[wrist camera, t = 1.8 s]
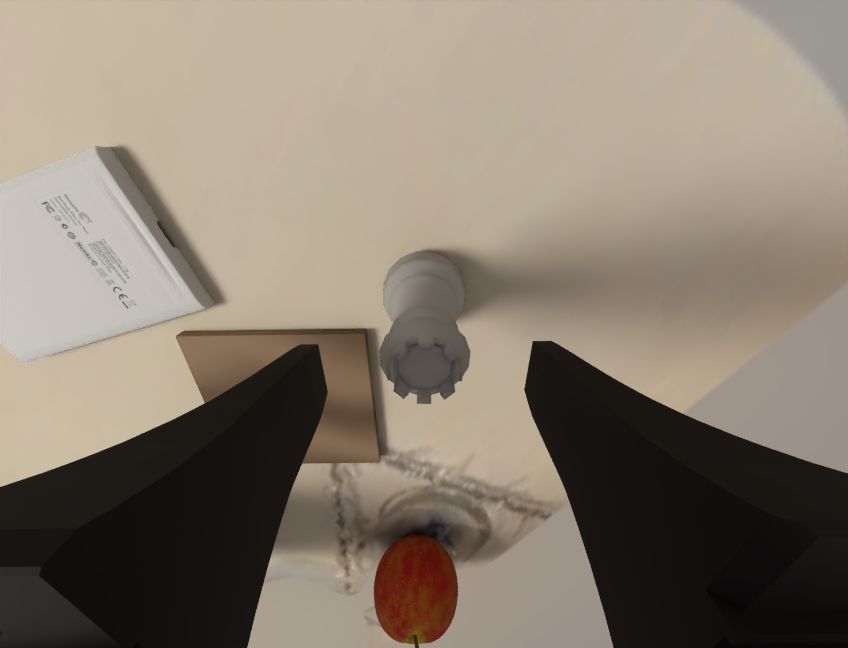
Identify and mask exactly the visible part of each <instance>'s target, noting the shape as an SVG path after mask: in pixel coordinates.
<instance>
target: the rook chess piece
mask: <svg viewBox="0 0 848 648" xmlns="http://www.w3.org/2000/svg"><path fill="white" fill-rule="evenodd" d="M464 298H465V289H464V282H463V280H462V277H461V274H460V271H459V270H458V269H457V267H456V266H455V265H454V264H453V263H452V262H451V261H450V260H449V259H448V258H445V257H443V256H441V255H438V254H436V253H434V252H415V253H412V254H410V255H407V256H404V257H402V258H400V259H399V260H398V261H397V262H396V263H395V264H394V265H393V266H392V267H391V268H390V269H389V271H388V274H387V276H386V279H385V281H384V288H383V302H384V307H385V309H386V311H387V313H388V315H389V317H390V319H391V321H393V325H392V327H391V329H390V332H389V333H388V334H387V335H386V336H385V338H384V341H383V343H382V345H381V348H380V350H379V353H380V366H381V368H382V369H383V371H384V373H385V375H386V377H387V378H388V380H390V381H391V382H393V383H394V384H395V385H394V392H396V393H397V394H398V395H399V396H401V397H402V398H403V399H404V398H405V397H406V396H407V395H408V394H409V392H411V393H414V394H416V395H417V403H420V404H431V395H432V394H436V393H439V392H440V395H441V396H442V397H443V398H444V400H445V399H446V398H447V397H449V396H450V395H452V394H453V393H454V392H455V387H454V384H455V383H457V382H458V381H462V377H463V375H464V373H465V372H466V370H467V368H468V367H469V359H470V349H469V347H468V344H467V341H466V339H465V337H464V336H463V335H462V334H461V333H460V332H459V330H458V327H457V325H456V320H457V318H458V316H459V315H460V313H461V311H462V309H463V307H464Z"/></svg>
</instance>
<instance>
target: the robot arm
mask: <svg viewBox="0 0 848 648" xmlns="http://www.w3.org/2000/svg"><path fill="white" fill-rule="evenodd" d="M524 390H525V393H526V397H527V401H528V404H529V407H530V410H531V414H532V417H533V419H534V421H535V423H536V426H537V428H538V430H539V432H540V435H541V437H542V439H543V441H544V443H545V445H546V448H547V450H548V452H549V454H550V456H551V459H552V461H553V463H554V465H555V467H556V469H557V472H558V474H559V476H560V478H561V481H562V483H563V486H564V488H565V490H566V493H567V496H568V499H569V502H570V504H571V507H572V510H573V513H574V516H575V519H576V522H577V525H578V527H579V531H580V534H581V537H582V540H583V543H584V547H585V550H586V553H587V556H588V559H589V562H590V565H591V568H592V572H593V576H594V579H595V582H596V586H597V589H598V592H599V596H600V599H601V603H602V606H603V610H604V613H605V617H606V620H607V624H608V628H609V632H610V636H611V639H612V643H613V647H614V648H848V473H844V472H841V471H837V470H834V469H831V468H827V467H824V466H821V465H818V464H814V463H811V462H808V461H805V460H802V459H799V458H796V457H794V456H791V455H788V454H785V453H782V452H779V451H776V450H773V449H770V448H767V447H764V446H762V445H759V444H756V443H754V442H750V441H748V440H745V439H743V438H740V437H737V436H735V435H732V434H730V433H727V432H725V431H722V430H720V429H717V428H715V427H712V426H710V425H707V424H705V423H702V422H700V421H697V420H696V419H693V418H691V417H689V416H686V415H684V414H682V413H680V412H678V411H675V410H673V409H671V408H669V407H667V406H665V405H663V404H661V403H659V402H656V401H654V400H652V399H650V398H649V397H647V396H645V395H643V394H641V393H639V392H637V391H635V390H633V389H632V388H630V387H628V386H626V385H624V384H623V383H621V382H619V381H617V380H616V379H614V378H612V377H610V376H609V375H607V374H605V373H604V372H602V371H600V370H599V369H597V368H595V367H594V366H592V365H591V364H589V363H587V362H586V361H584V360H583V359H581V358H579V357H578V356H576V355H575V354H573V353H571V352H570V351H568V350H566V349H565V348H563V347H561V346H560V345H558V344H556V343H554V342H552V341H533V344H532V349H531V355H530V361H529V367H528V372H527V378H526V384H525V389H524ZM327 394H328V390H327V385H326V380H325V375H324V370H323V365H322V360H321V355H320V350H319V345H318V344H300V345H298V346H296V347H294V348H293V349H291V350H289V351H288V352H286V353H285V354H283V355H282V356H280V357H279V358H277V359H276V360H274V361H273V362H271V363H270V364H268V365H267V366H265V367H264V368H262V369H261V370H259V371H258V372H256V373H255V374H253V375H251V376H250V377H248V378H247V379H245V380H243V381H242V382H240V383H239V384H237V385H235V386H234V387H232V388H230V389H229V390H227V391H225V392H224V393H222V394H220V395H219V396H217V397H215V398H214V399H212V400H210V401H208V402H206V403H205V404H203V405H201V406H199V407H197V408H195V409H193V410H191V411H189V412H187V413H185V414H183V415H182V416H180V417H178V418H176V419H173V420H171V421H169V422H167V423H165V424H163V425H160V426H158V427H156V428H154V429H152V430H149V431H147V432H145V433H143V434H140V435H138V436H136V437H134V438H131V439H129V440H127V441H125V442H122V443H120V444H118V445H115V446H113V447H110V448H108V449H105V450H103V451H100V452H98V453H95V454H93V455H90V456H87V457H85V458H82V459H79V460H77V461H74V462H71V463H69V464H66V465H63V466H61V467H58V468H55V469H52V470H50V471H47V472H44V473H41V474H38V475H35V476H32V477H29V478H26V479H23V480H20V481H17V482H14V483H11V484H8V485H5V486H2V487H0V648H247V646H248V642H249V638H250V634H251V630H252V625H253V621H254V617H255V613H256V609H257V605H258V602H259V598H260V594H261V590H262V586H263V583H264V579H265V575H266V571H267V567H268V564H269V561H270V557H271V554H272V550H273V547H274V543H275V540H276V536H277V533H278V529H279V526H280V523H281V520H282V517H283V513H284V510H285V507H286V504H287V501H288V497H289V495H290V492H291V489H292V487H293V484H294V481H295V479H296V476H297V474H298V472H299V469H300V467H301V465H302V462H303V460H304V458H305V455H306V453H307V451H308V448H309V446H310V444H311V441H312V439H313V436H314V434H315V432H316V429H317V427H318V424H319V422H320V419H321V416H322V413H323V409H324V406H325V402H326V398H327Z"/></svg>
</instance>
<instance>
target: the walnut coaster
mask: <svg viewBox="0 0 848 648" xmlns="http://www.w3.org/2000/svg"><path fill="white" fill-rule="evenodd" d="M176 339H177V341H178V343H179V345H180V348H181V350H182V352H183V354H184V357H185V359H186V361H187V363H188V366H189V368H190V370H191V373H192V375H193V377H194V379H195V382H196V384H197V386H198V388H199V391H200V393H201V395H202V397H203V400H204V402H205V403H206V402H208V401H210V400H212V399H214V398H215V397H217V396H219V395H220V394H222V393H224V392H225V391H227V390H229V389H230V388H232V387H234V386H235V385H237V384H239V383H240V382H242V381H243V380H245V379H247V378H248V377H250V376H251V375H253V374H255V373H256V372H258V371H259V370H261V369H262V368H264V367H265V366H267V365H268V364H270V363H271V362H273V361H274V360H276V359H277V358H279V357H280V356H282V355H283V354H285V353H286V352H288V351H289V350H291V349H293V348H294V347H296V346H298V345H300V344H318V345H319V350H320V355H321V360H322V365H323V370H324V375H325V380H326V385H327V390H328V394H327V398H326V402H325V406H324V409H323V413H322V416H321V419H320V422H319V424H318V427H317V429H316V432H315V434H314V436H313V439H312V441H311V444H310V446H309V448H308V451H307V453H306V455H305V458H304V460H303V462H302V463H372V462H380V448H379V439H378V430H377V421H376V413H375V404H374V395H373V386H372V377H371V369H370V360H369V351H368V342H367V333H366V329H324V330H252V331H183V332H181V333H180V334H178V335H177V336H176Z"/></svg>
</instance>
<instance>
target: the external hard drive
mask: <svg viewBox="0 0 848 648" xmlns="http://www.w3.org/2000/svg"><path fill="white" fill-rule="evenodd" d="M158 222H159V219H158V218H157V216H156V215H155V213H154V212H153V210H152V208H151V207H150V205H149V204H148V202H147V201H146V199H145V198H144V196H143V195H142V193H141V192H140V190H139V189H138V187H137V186H136V184H135V183H134V181H133V180H132V178H131V177H130V175H129V174H128V172H127V171H126V169H125V168H124V166H123V165H122V163H121V162H120V160H119V158H118V157H117V155H116V154H115V152H114V151H113V149H112V148H111V147H99V146H95V147H92V148H89V149H87V150H85V151H82V152H79V153H77V154H75V155H72V156H69V157H66V158H64V159H61V160H58V161H55V162H53V163H50V164H48V165H45V166H43V167H40V168H37V169H35V170H32V171H29V172H27V173H24V174H22V175H19V176H16V177H14V178H11V179H9V180H6V181H4V182H1V183H0V344H1V345H2V346H3V347H4V348H6V349H7V350H8V351H9V352H10V353H11V354H12V355H13V356H15V357H16V358H17V359H19V360H21V361H23V362H29V361H32V360H35V359H39V358H42V357H46V356H49V355H52V354H56V353H59V352H62V351H66V350H69V349H73V348H76V347H79V346H83V345H86V344H89V343H93V342H96V341H99V340H103V339H106V338H109V337H113V336H116V335H120V334H123V333H126V332H130V331H133V330H136V329H140V328H143V327H147V326H150V325H153V324H157V323H160V322H163V321H167V320H170V319H173V318H177V317H180V316H183V315H187V314H190V313H193V312H197V311H200V310H204V309H207V308H208V307H209V306H211V305H213V304H214V302H213V301H212V299H211V298H210V296H209V295H208V293H207V292H206V290H205V289H204V287H203V286H202V284H201V283H200V281H199V280H198V278H197V277H196V275H195V274H194V272H193V270H192V269H191V267H190V266H189V264H188V263H187V261H186V260H185V258H184V257H183V255H182V254H181V252H180V251H179V249H178V248H177V247H174V246H172V245H171V243H170V242H169V240H168V239H167V237H166V235H164V233H163V232H162V230H161V229H160V227H159V225H158Z"/></svg>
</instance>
